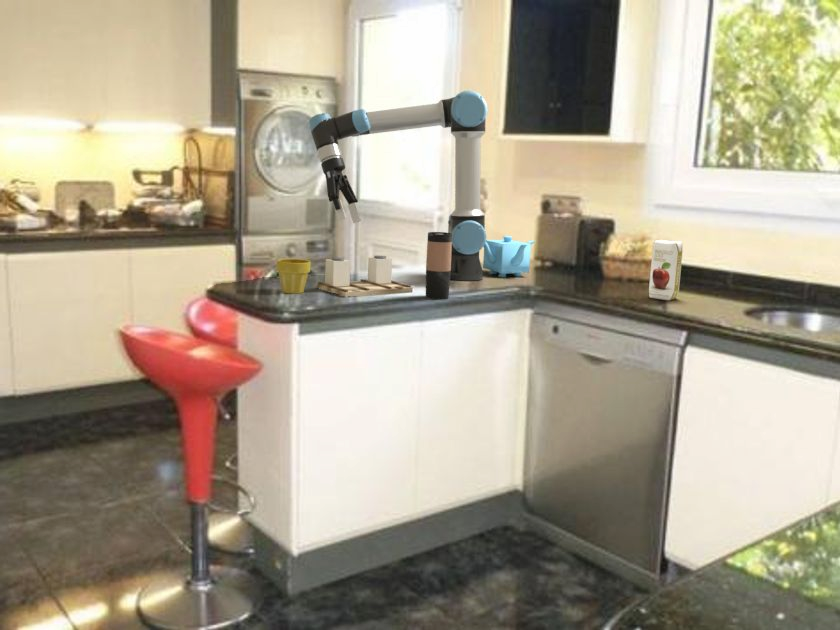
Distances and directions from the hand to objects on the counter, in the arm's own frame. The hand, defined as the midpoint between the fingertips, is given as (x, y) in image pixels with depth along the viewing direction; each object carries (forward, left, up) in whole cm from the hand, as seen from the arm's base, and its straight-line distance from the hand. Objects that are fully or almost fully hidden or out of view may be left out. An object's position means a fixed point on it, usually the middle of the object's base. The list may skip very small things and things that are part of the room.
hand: (349, 220), depth 278 cm
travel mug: (-22, +30, -21) cm, 43 cm away
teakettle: (-64, -16, -21) cm, 69 cm away
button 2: (-8, +10, -19) cm, 23 cm away
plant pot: (+21, +18, -21) cm, 35 cm away
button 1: (+7, +15, -19) cm, 26 cm away
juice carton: (-99, +35, -21) cm, 107 cm away
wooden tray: (-2, +16, -21) cm, 26 cm away
